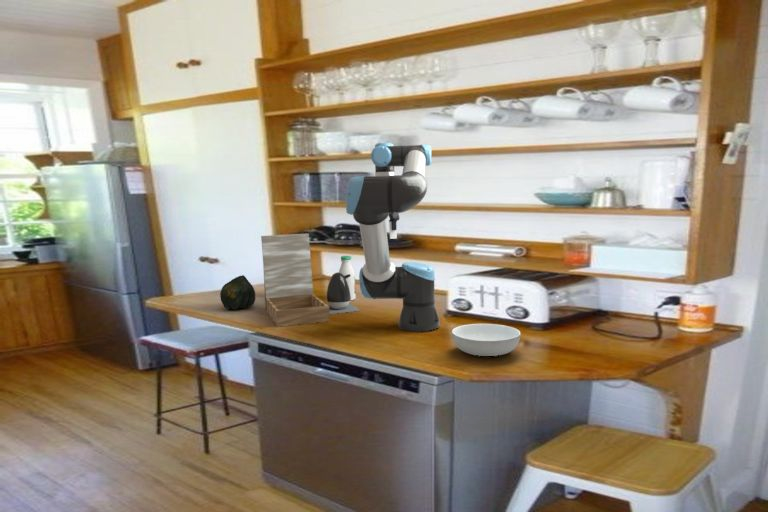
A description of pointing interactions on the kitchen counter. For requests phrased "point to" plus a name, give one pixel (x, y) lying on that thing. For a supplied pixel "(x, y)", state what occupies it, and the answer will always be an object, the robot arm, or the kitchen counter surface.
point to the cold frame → (290, 281)
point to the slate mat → (348, 309)
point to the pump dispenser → (338, 291)
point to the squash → (237, 293)
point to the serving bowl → (486, 339)
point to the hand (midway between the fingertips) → (386, 237)
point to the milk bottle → (347, 269)
